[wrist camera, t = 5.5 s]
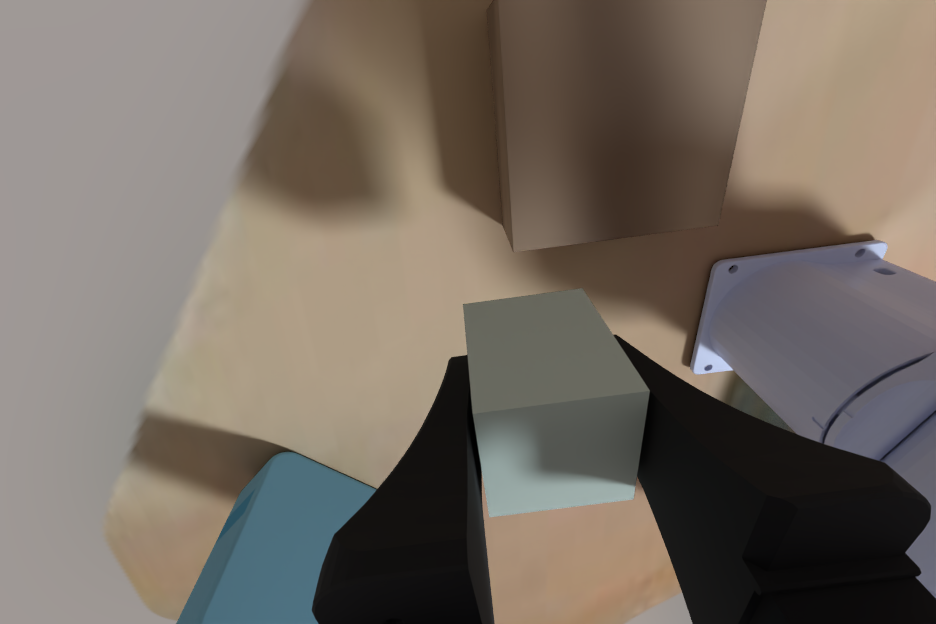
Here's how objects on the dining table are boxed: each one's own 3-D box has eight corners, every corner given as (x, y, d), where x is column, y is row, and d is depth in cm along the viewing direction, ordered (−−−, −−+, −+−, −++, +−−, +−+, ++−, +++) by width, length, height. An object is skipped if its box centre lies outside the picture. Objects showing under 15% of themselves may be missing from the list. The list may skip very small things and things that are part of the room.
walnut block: (705, -19, 16) (776, -46, 13) (672, 200, 21) (718, 225, 17) (486, 11, 16) (497, -7, 13) (501, 223, 21) (513, 252, 17)
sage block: (582, 288, 13) (649, 390, 9) (579, 379, 15) (633, 499, 11) (463, 304, 13) (472, 414, 9) (476, 393, 15) (489, 517, 11)
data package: (247, 475, 29) (141, 692, 19) (277, 442, 28) (179, 658, 17) (382, 530, 34) (355, 730, 23) (414, 504, 32) (401, 706, 22)
